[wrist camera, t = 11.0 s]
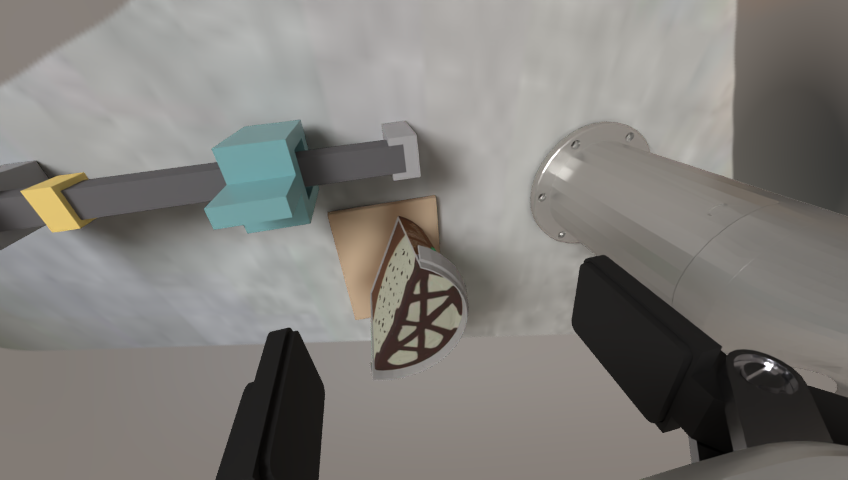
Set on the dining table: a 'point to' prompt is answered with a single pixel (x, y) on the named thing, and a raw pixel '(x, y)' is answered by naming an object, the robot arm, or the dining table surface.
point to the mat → (375, 241)
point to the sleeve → (262, 179)
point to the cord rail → (178, 184)
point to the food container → (414, 305)
